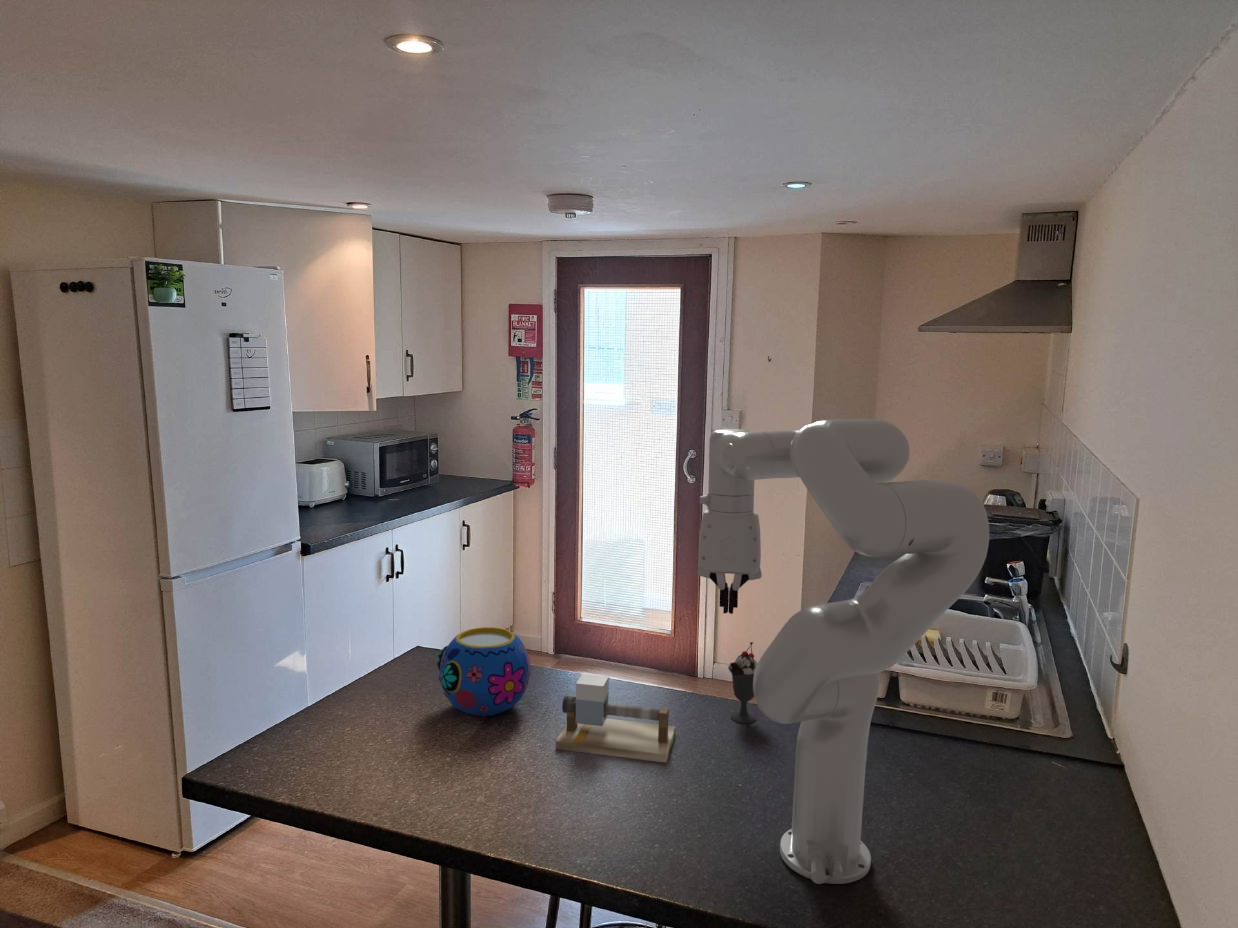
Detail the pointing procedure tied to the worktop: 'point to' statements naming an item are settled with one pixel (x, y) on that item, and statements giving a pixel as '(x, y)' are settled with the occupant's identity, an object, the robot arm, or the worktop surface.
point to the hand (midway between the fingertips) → (728, 611)
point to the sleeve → (591, 699)
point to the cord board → (619, 733)
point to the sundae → (743, 684)
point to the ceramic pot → (484, 670)
